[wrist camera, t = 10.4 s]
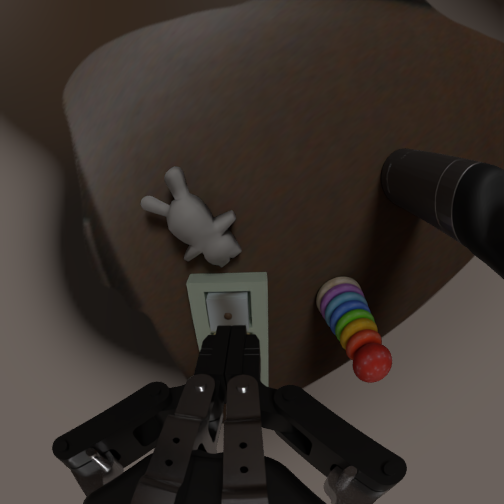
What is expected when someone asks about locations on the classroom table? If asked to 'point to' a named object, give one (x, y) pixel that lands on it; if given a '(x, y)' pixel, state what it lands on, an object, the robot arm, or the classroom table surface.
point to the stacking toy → (354, 327)
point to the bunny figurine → (195, 222)
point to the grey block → (228, 308)
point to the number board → (232, 282)
